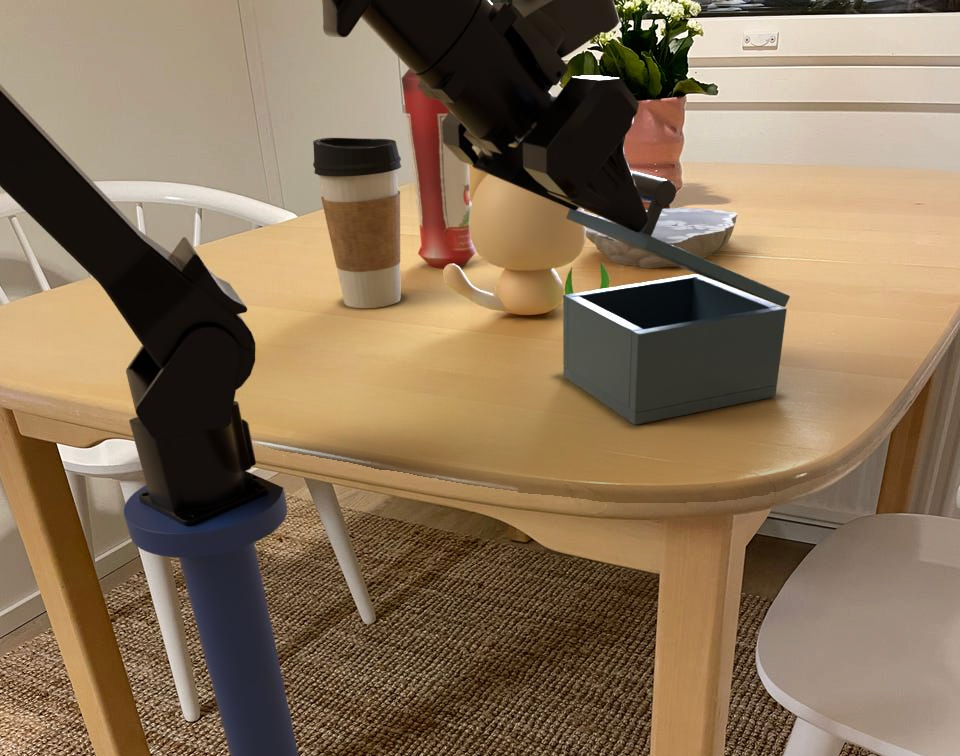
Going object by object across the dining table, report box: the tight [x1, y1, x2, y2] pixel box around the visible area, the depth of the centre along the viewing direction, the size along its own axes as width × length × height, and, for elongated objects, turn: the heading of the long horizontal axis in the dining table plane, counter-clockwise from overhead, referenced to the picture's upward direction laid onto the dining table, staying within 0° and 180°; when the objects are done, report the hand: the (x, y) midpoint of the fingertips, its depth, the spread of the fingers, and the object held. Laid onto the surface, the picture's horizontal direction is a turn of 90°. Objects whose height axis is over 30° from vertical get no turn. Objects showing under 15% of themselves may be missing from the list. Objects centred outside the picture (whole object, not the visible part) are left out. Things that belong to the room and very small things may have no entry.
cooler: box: [562, 273, 787, 426], centre depth 72 cm, size 12×12×6 cm
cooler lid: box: [566, 170, 791, 308], centre depth 67 cm, size 13×12×4 cm
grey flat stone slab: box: [586, 207, 738, 269], centre depth 110 cm, size 20×17×3 cm
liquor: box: [401, 68, 477, 269], centre depth 103 cm, size 7×7×28 cm
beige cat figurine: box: [442, 149, 611, 316], centre depth 88 cm, size 15×10×15 cm, turn 64°
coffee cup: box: [312, 137, 402, 309], centre depth 94 cm, size 8×8×15 cm
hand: (609, 214), depth 65 cm, fingers open, 9 cm apart
